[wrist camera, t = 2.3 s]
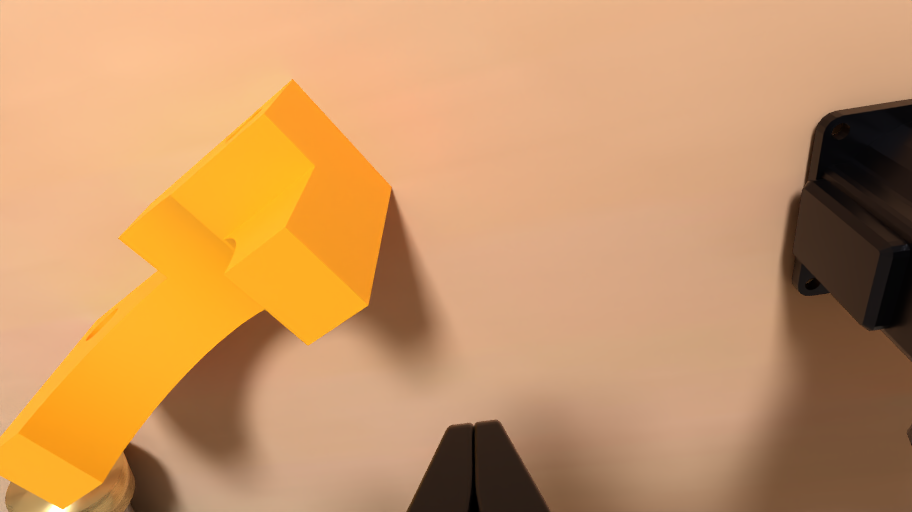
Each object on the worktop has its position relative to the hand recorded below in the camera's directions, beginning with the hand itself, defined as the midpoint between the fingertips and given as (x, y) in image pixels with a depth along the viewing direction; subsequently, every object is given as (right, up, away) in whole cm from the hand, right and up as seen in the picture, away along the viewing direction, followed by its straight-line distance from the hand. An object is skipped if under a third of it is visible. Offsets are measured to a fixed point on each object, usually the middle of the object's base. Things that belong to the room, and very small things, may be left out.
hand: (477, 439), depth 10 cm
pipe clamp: (-8, +4, +10) cm, 14 cm away
